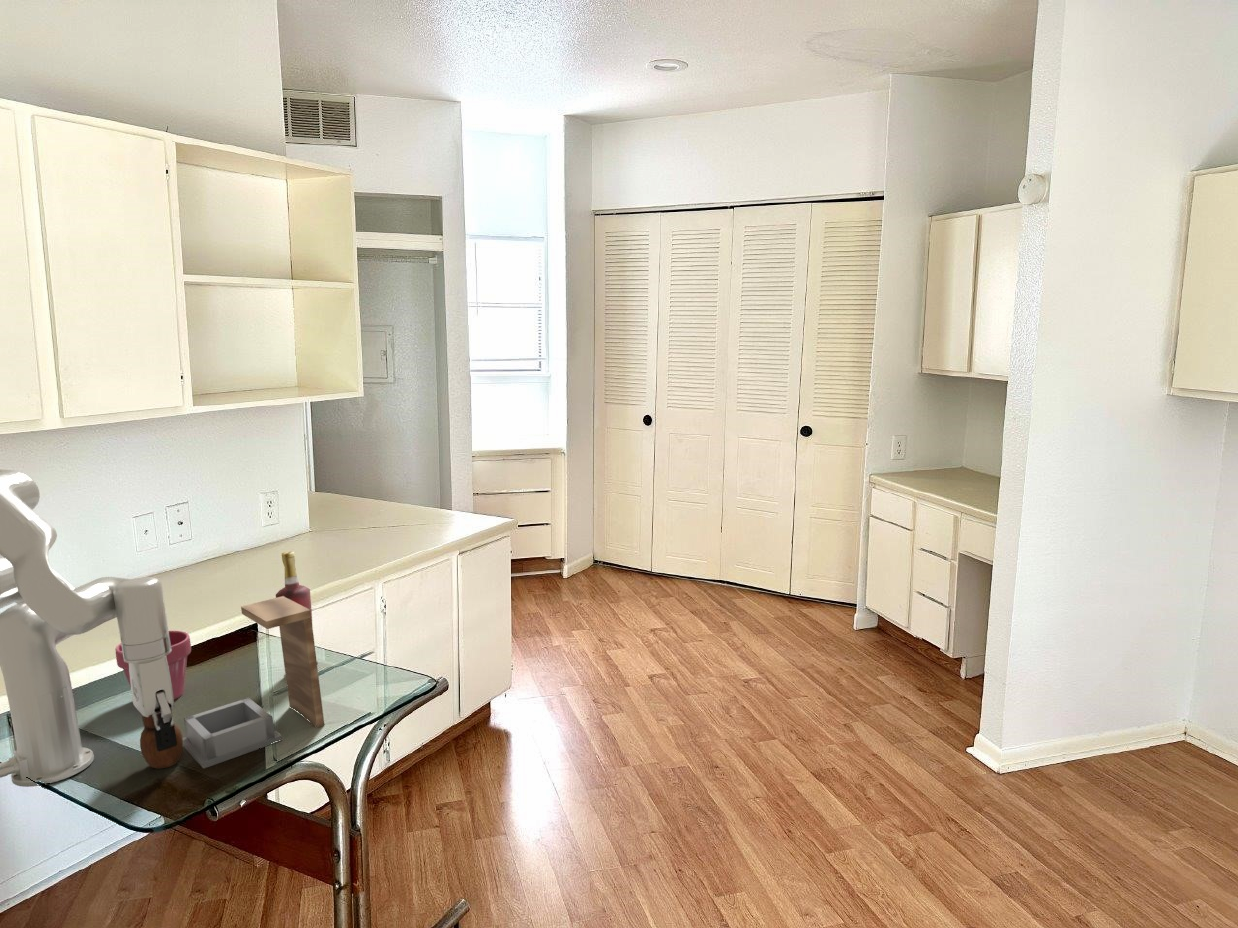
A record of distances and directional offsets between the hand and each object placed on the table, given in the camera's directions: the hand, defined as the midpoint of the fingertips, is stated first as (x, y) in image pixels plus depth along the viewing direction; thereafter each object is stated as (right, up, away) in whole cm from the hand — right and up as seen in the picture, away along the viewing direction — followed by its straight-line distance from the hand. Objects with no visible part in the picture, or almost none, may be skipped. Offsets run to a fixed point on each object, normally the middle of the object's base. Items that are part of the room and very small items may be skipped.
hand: (161, 740), depth 154 cm
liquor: (+10, +2, +41) cm, 43 cm away
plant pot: (-17, -1, +32) cm, 36 cm away
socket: (+9, -3, +8) cm, 12 cm away
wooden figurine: (0, -5, +1) cm, 5 cm away
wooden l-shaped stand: (+18, -1, +16) cm, 24 cm away
